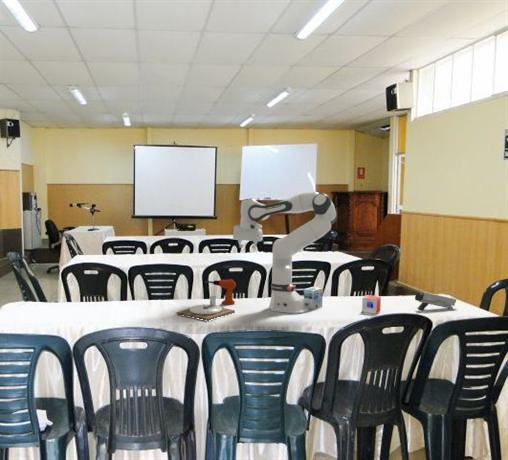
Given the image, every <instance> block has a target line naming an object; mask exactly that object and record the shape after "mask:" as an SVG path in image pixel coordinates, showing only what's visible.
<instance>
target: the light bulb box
mask: <svg viewBox="0 0 508 460" xmlns="http://www.w3.org/2000/svg"><path fill="white" fill-rule="evenodd" d="M323 291H324V290H323V288H322V287H316V286H311V287H307V288H304V289H303V299H304V304H305V307H308V308H309V310H316V309H318V308H322V307H323Z"/></svg>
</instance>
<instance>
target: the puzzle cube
mask: <svg viewBox="0 0 508 460" xmlns="http://www.w3.org/2000/svg"><path fill="white" fill-rule="evenodd" d="M381 298H382V297H381V296H378V295H369V294H367V295H364V296H363V297H362V301H361V302H362V303H361V306H362V307H361V312H364V313H370V314H377V313H379V312H380V311H381V306H382V305H381V300H382V299H381Z"/></svg>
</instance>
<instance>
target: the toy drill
mask: <svg viewBox="0 0 508 460" xmlns="http://www.w3.org/2000/svg"><path fill="white" fill-rule="evenodd" d="M204 283H206V284H213V286H218V287H221V288H223V289H224V291H223V292H222V295H223V296H224V300H223V301H221V305H223V306H231V305H232V306H233V305H235V303H236V302H235V300H234V299H233V291H234V289H235V288H236V287H237V283H236V282H235V281H234V279H231V278H230V279H220V280H212V281H211V280H205V281H204Z"/></svg>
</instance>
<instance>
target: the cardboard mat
mask: <svg viewBox="0 0 508 460" xmlns="http://www.w3.org/2000/svg"><path fill="white" fill-rule="evenodd" d="M202 305H206V304H202ZM221 308H222V311H221V312H219V313H216V314H208V315H201V314H194V313H191V312H190V307H189V308H186V309H183V310H179V311H176V312H175V315H176V314H177V315H176V316H179V315H184V316H190V317H194V318H199V319H203V320H207V321H208V322H210V321H209V320H211V319H214V318H217V317H221V316H224V317H226V316H225V315H227V316H230V315H233V314H235V312H236V311H235V309H232V308H231V309H230V308H225V307H221ZM232 313H233V314H232ZM229 314H230V315H229ZM184 316H183V317H184ZM221 318H222V317H221ZM203 320H202V321H203ZM214 320H215V319H214ZM207 321H206V322H207ZM211 321H212V320H211Z"/></svg>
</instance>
